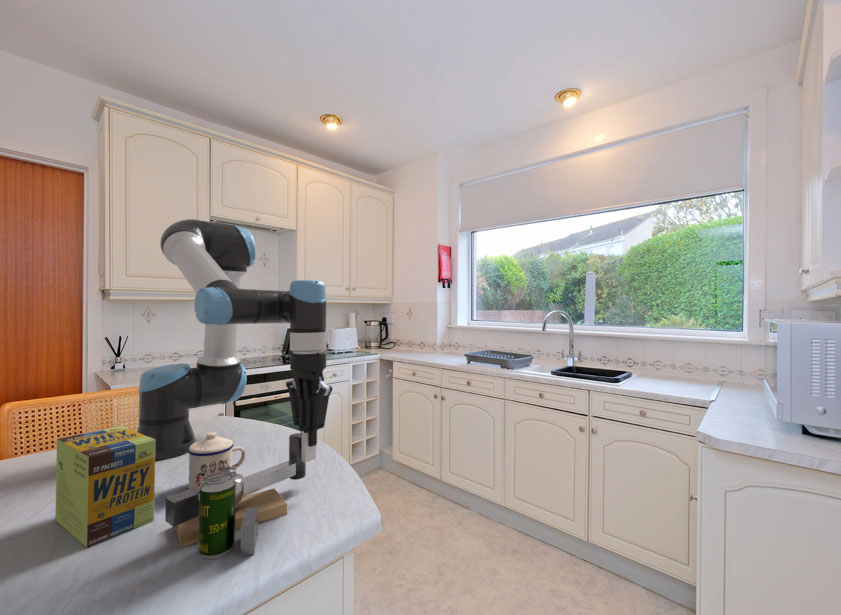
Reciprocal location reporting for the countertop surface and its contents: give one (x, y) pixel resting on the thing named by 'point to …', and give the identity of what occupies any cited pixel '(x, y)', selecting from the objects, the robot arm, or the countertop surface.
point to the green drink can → (217, 515)
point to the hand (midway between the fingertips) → (308, 459)
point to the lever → (239, 485)
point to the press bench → (238, 514)
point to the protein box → (104, 483)
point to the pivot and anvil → (247, 524)
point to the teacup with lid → (210, 458)
